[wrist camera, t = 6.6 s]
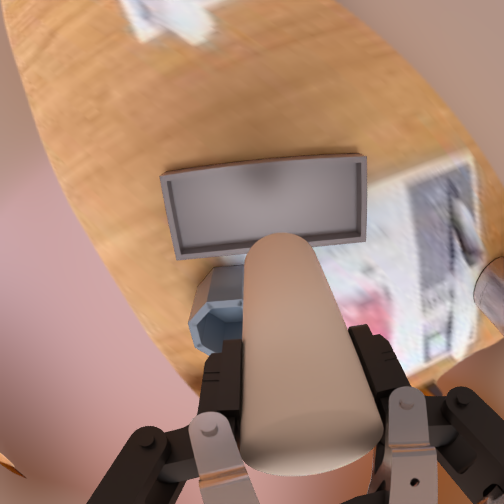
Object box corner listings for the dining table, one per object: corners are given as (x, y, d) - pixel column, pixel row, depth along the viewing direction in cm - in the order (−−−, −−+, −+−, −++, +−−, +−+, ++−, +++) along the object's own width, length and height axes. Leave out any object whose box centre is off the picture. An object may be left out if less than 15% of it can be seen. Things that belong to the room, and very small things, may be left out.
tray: (358, 153, 30) (366, 156, 27) (358, 232, 33) (365, 241, 31) (166, 171, 30) (159, 176, 28) (181, 250, 34) (176, 260, 32)
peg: (316, 229, 18) (398, 395, 7) (317, 293, 19) (369, 463, 9) (240, 236, 18) (229, 418, 7) (248, 300, 20) (248, 480, 9)
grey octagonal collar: (263, 262, 35) (266, 296, 29) (269, 319, 38) (272, 358, 32) (193, 269, 35) (182, 303, 29) (206, 324, 39) (199, 362, 32)
